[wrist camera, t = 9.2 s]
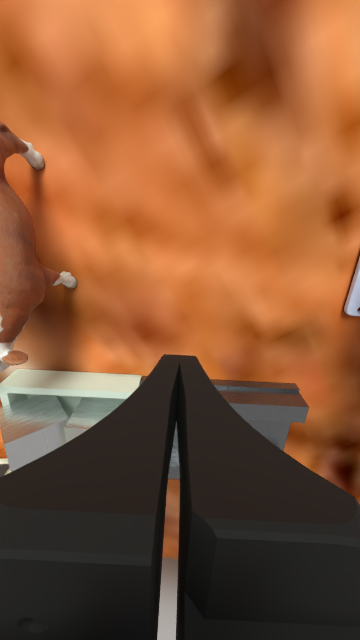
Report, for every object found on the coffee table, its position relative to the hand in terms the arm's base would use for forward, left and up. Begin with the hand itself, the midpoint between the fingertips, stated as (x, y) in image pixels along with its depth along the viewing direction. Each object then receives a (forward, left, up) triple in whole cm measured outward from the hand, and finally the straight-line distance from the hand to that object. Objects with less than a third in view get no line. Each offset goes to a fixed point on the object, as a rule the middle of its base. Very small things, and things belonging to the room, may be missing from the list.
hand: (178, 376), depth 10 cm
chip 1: (+12, +10, -8) cm, 18 cm away
